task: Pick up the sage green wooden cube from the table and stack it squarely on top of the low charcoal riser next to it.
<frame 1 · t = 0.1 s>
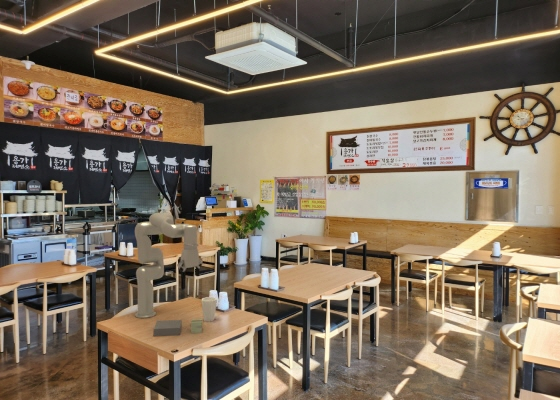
hand: (190, 277, 224), 31 cm above the table, tool pointing down, fingers open, 9 cm apart
foam cup: (209, 320, 246), on the table
riser: (168, 331, 225), on the table
cube: (196, 331, 226), on the table
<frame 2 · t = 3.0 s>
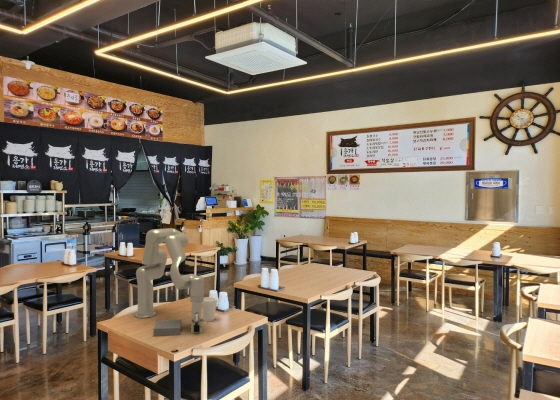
hand: (196, 329, 226), 1 cm above the table, tool pointing down, fingers closed on cube, 6 cm apart
cube: (196, 331, 226), on the table, touching gripper
everything else where it was.
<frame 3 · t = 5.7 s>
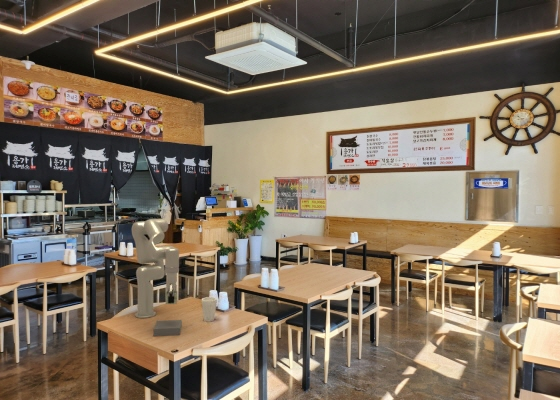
hand: (171, 301, 225), 17 cm above the table, tool pointing down, fingers closed on cube, 6 cm apart
cube: (171, 302, 225), point 16 cm above the table, touching gripper
everything else where it was.
when the fingers open (6 cm above the table, at t = 8.5 s): cube drops 1 cm, resting on riser.
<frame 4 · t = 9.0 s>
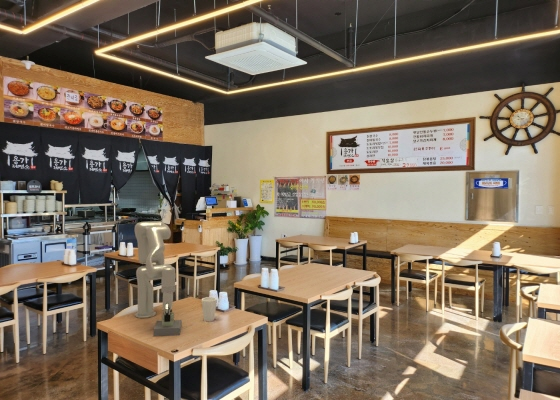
hand: (168, 318, 225), 7 cm above the table, tool pointing down, fingers open, 9 cm apart
cube: (168, 324, 225), point 4 cm above the table, touching riser
everything else where it was.
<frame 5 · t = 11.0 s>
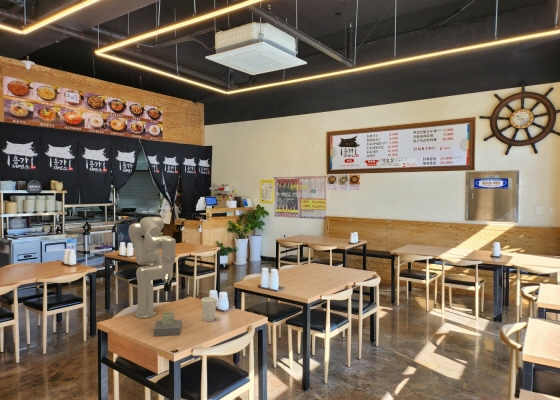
hand: (167, 288, 229), 23 cm above the table, tool pointing down, fingers open, 9 cm apart
nothing on the table moved.
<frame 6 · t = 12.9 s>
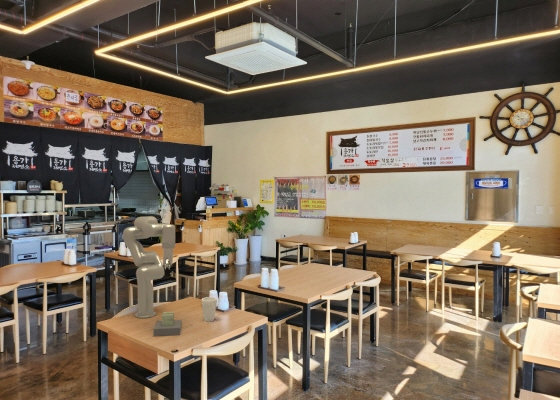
hand: (168, 274, 234), 30 cm above the table, tool pointing down, fingers open, 9 cm apart
nothing on the table moved.
at the end: cube inside the target area on the riser (0.1 cm from its centre), point 4.0 cm above the riser's base; cube tilted 0°; the gripper is holding nothing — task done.
